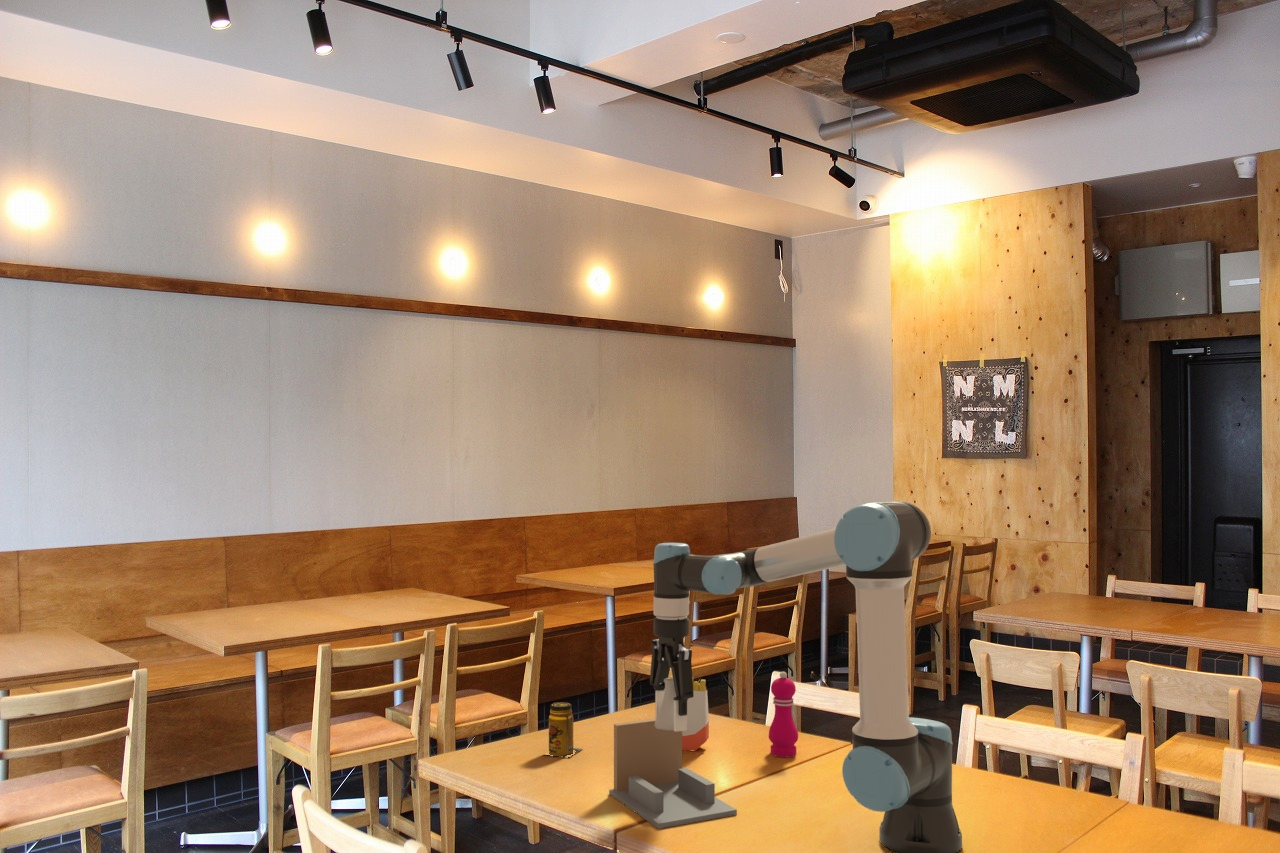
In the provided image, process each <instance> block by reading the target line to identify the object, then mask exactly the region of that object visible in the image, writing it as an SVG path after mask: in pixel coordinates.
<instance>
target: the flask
mask: <svg viewBox="0 0 1280 853" xmlns="http://www.w3.org/2000/svg"><path fill="white" fill-rule="evenodd" d="M664 682H665V692H664V698H663V701H662V704H661V707H660V710H659V713H658V715H657V718H656V721H655V724H654V726H655V728H656V729H662V730H674V699H673V698H675V697H676V693H675V687H674V682H673V678H670V677H668V678H666V679H664ZM687 727H688V725H687Z"/></svg>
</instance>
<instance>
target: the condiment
mask: <svg viewBox="0 0 1280 853" xmlns="http://www.w3.org/2000/svg"><path fill="white" fill-rule="evenodd" d="M572 709H573V706H572V704H571V703H569V702H562V701H561V702H553V703H551V704H550V710H549V713H550V714H549V716H548V751H549V754H550V755H553V756H567V755H571V754H573V750H575V751H576V752H575V753H576V754H578V753H579V752H581V750H583V749H584V747H574V715H573V710H572ZM553 756H552V757H553ZM565 758H566V759H569V758H568V757H565Z"/></svg>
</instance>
